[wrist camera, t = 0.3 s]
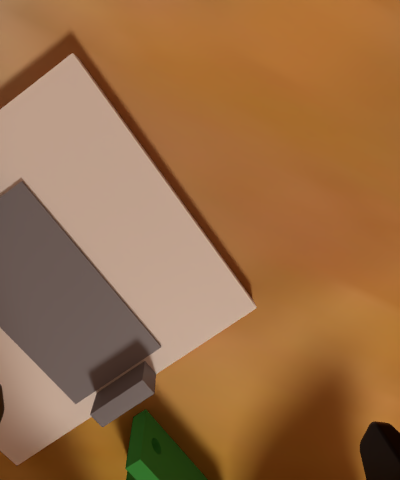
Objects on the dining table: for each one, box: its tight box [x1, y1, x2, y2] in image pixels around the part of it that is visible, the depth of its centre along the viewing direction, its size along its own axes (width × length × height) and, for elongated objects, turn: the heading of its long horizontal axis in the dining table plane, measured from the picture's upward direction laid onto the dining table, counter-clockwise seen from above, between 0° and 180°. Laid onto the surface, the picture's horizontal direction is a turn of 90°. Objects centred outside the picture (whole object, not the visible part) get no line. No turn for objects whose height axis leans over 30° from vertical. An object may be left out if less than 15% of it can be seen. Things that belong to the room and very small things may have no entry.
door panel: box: [0, 53, 257, 465], centre depth 22 cm, size 20×18×3 cm
